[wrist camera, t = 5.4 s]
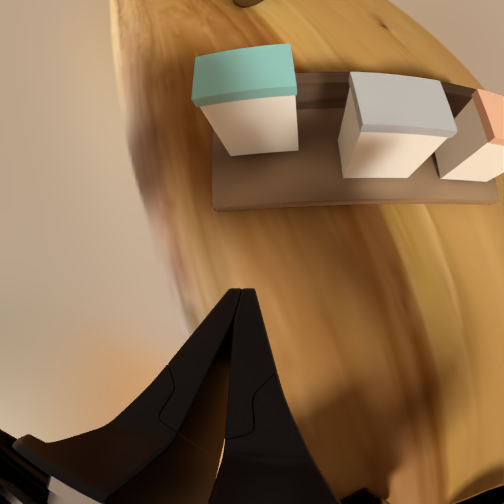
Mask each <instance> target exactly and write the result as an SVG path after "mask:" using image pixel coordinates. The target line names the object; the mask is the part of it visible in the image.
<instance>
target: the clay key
mask: <svg viewBox="0 0 504 504" xmlns="http://www.w3.org/2000/svg"><path fill="white" fill-rule="evenodd" d="M471 96H472V99H471V100H470V101H469V103H468V104H467V105H466V106H465V107H464V108H463V110H462V111H461V112H460V113H459V114H458V115H457V117H456V118H455V119H454V121H455V124H456V127H457V131H458V132H457V133H456V134H455V135H454V136H453V137H452V138H447V139H446V140H445V141H444V142H443V143H442V144H441V145H440V146H439V147H438V148H437V149H436V150H435V155H436V160H437V164H438V169H439V174H440V179H451V180H468V181H481V182H487V181H489V180H491V179H492V178H494V177H496V176H498V175H499V174H501V173H503V172H504V96H501V95H497V94H494V93H491V92H487V91H484V90H480V89H476V90H475V92H474V93H473V94H472V95H471Z"/></svg>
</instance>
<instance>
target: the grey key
mask: <svg viewBox="0 0 504 504" xmlns="http://www.w3.org/2000/svg"><path fill="white" fill-rule="evenodd" d="M349 85H350V88H349V93H348V98H347V102H346V107H345V112H344V116H343V121H342V125H341V129H340V134H339V138H338V144H339V151H340V158H341V166H342V174H343V178H408V177H409V176H410V175H411V174H412V173H413V172H414V171H415V170H416V169H417V168H418V167H419V166H420V165H421V164H422V163H423V162H424V161H425V160H426V159H427V158H428V157H429V156H430V155H431V154H432V153H433V152H434V151H435V150H436V149H437V148H438V147H439V146H440V145H441V144H442V143H443V142H444V141H445V140H446V139H447V138H452V137H453V136H454V135H455V134H456V133H457V132H458V131H457V127H456V124H455V121H454V118H453V115H452V112H451V109H450V106H449V104H448V101H447V98H446V96H445V93H444V90H443V88H442V85H441V83H440V81H438V80H432V79H426V78H419V77H412V76H404V75H395V74H384V73H370V72H350V75H349Z"/></svg>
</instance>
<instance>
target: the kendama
mask: <svg viewBox="0 0 504 504" xmlns="http://www.w3.org/2000/svg"><path fill="white" fill-rule="evenodd" d="M234 1H235V3H236V4H238V5H239V6H241V7H250V6H253V5H256V4H258V3H260V2H262V1H263V0H234Z"/></svg>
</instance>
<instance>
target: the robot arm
mask: <svg viewBox="0 0 504 504" xmlns="http://www.w3.org/2000/svg"><path fill="white" fill-rule="evenodd" d="M224 439H225V445H224V453H223V458H222V462H221V465H220V468H219V471H218V474H217V470H218V466H219V462H220V457H221V452H222V448H223V443H224ZM216 475H217V477H216ZM0 504H389V503H387V502H386V501H385V500H384V499H383V498H381V497H376V496H375V495H374V494H373V493H372V492H371V491H369V490H368V489H366V488H364V489H361V490H359V491H357V492H356V493H354V494H352V495H350V496H348V497H346V498H344V499H342V500H340V501H339V500H338V498H337V497H336V495H335V493H334V492H333V490H332V489H331V487H330V486H329V484H328V483H327V481H326V479H325V478H324V476H323V475H322V473H321V471H320V470H319V468H318V466H317V465H316V463H315V461H314V460H313V458H312V456H311V454H310V452H309V450H308V448H307V446H306V444H305V442H304V439H303V437H302V435H301V433H300V431H299V429H298V427H297V424H296V422H295V420H294V418H293V416H292V414H291V411H290V409H289V406H288V404H287V402H286V399H285V396H284V393H283V390H282V387H281V383H280V380H279V376H278V374H277V369H276V366H275V362H274V358H273V354H272V351H271V347H270V343H269V340H268V336H267V332H266V328H265V325H264V321H263V317H262V313H261V310H260V306H259V302H258V298H257V295H256V291H255V289H254V288H244V289H240V288H231V289H229V290H228V291H227V292H226V293H225V295H224V296H223V297H222V298H221V300H220V301H219V302H218V303H217V304H216V306H215V307H214V308H213V309H212V311H211V312H210V313H209V314H208V315H207V317H206V318H205V319H204V320H203V322H202V323H201V324H200V325H199V326H198V328H197V329H196V330H195V331H194V333H193V334H192V335H191V336H190V337H189V339H188V340H187V341H186V342H185V344H184V345H183V346H182V347H181V348H180V350H179V351H178V352H177V354H176V355H175V356H174V357H173V358H172V359H171V361H170V362H169V363H168V365H166V367H165V368H164V369H163V370H162V371H161V373H160V374H159V375H158V376H157V377H156V379H155V380H154V381H153V382H152V383H151V384H150V385H149V386H148V387H147V388H146V389H145V390H144V391H143V392H142V393H141V394H140V395H139V396H138V397H137V398H136V399H135V400H134V401H133V402H132V403H131V404H130V405H129V406H128V407H127V408H126V409H125V410H124V411H123V412H121V413H120V414H119V415H118V416H117V417H116V418H115V419H114V420H112V421H111V422H110V423H108V424H106V425H105V426H103V427H101V428H98V429H96V430H92V431H89V432H86V433H83V434H80V435H77V436H73V437H70V438H67V439H64V440H60V441H56V442H51V443H45V442H44V441H42V440H40V439H38V438H36V437H34V436H32V435H29V434H28V435H25V436H23V437H21V438H19V439H16V438H15V437H12V436H11V435H9V434H8V433H6V432H4V431H2V430H1V429H0ZM451 504H504V483H502V484H499V485H497V486H494V487H492V488H489V489H487V490H484V491H481V492H479V493H477V494H474V495H472V496H470V497H467V498H465V499H462V500H459V501H457V502H454V503H451Z"/></svg>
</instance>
